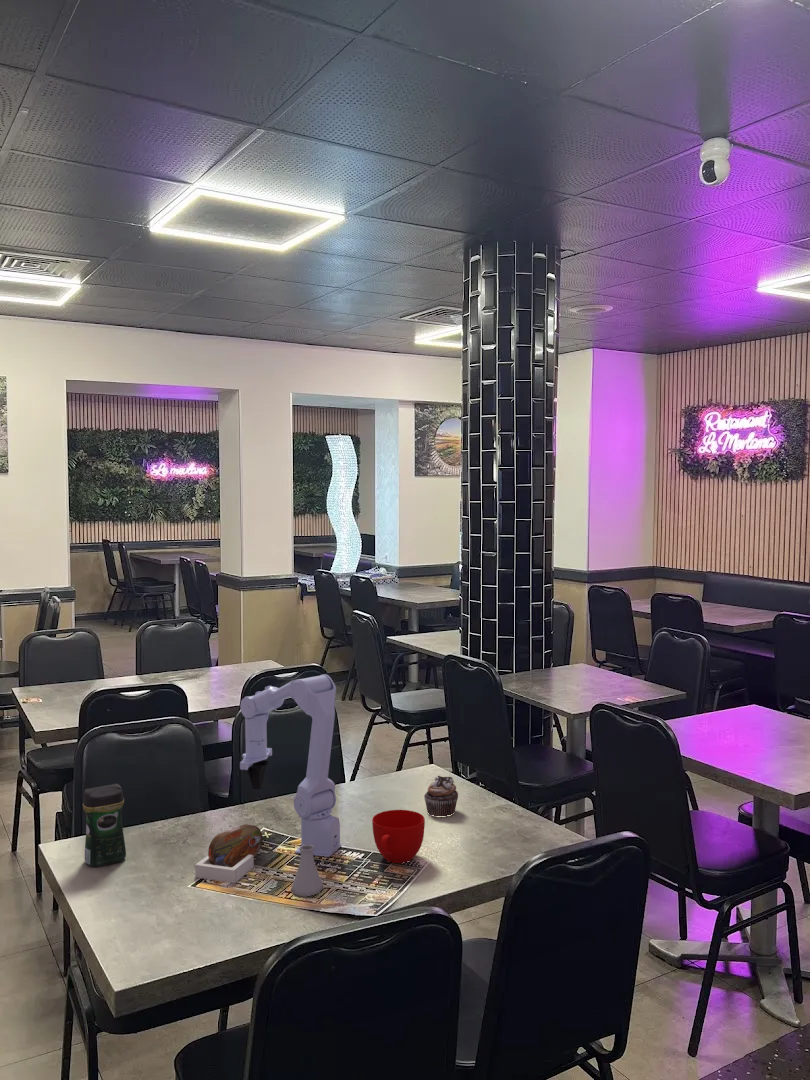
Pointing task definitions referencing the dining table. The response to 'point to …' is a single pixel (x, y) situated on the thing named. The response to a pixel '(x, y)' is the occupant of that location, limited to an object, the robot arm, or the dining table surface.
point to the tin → (235, 845)
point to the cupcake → (441, 797)
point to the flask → (307, 874)
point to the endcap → (223, 870)
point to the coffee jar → (104, 825)
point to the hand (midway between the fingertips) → (256, 788)
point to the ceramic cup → (398, 834)
